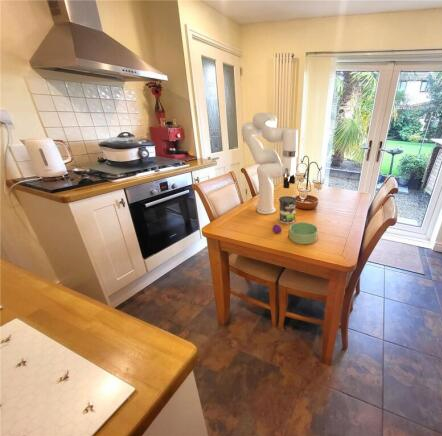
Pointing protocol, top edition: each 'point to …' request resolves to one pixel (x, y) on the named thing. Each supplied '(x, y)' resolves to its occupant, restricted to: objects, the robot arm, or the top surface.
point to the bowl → (303, 233)
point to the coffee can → (287, 209)
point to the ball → (276, 229)
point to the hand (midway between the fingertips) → (289, 185)
